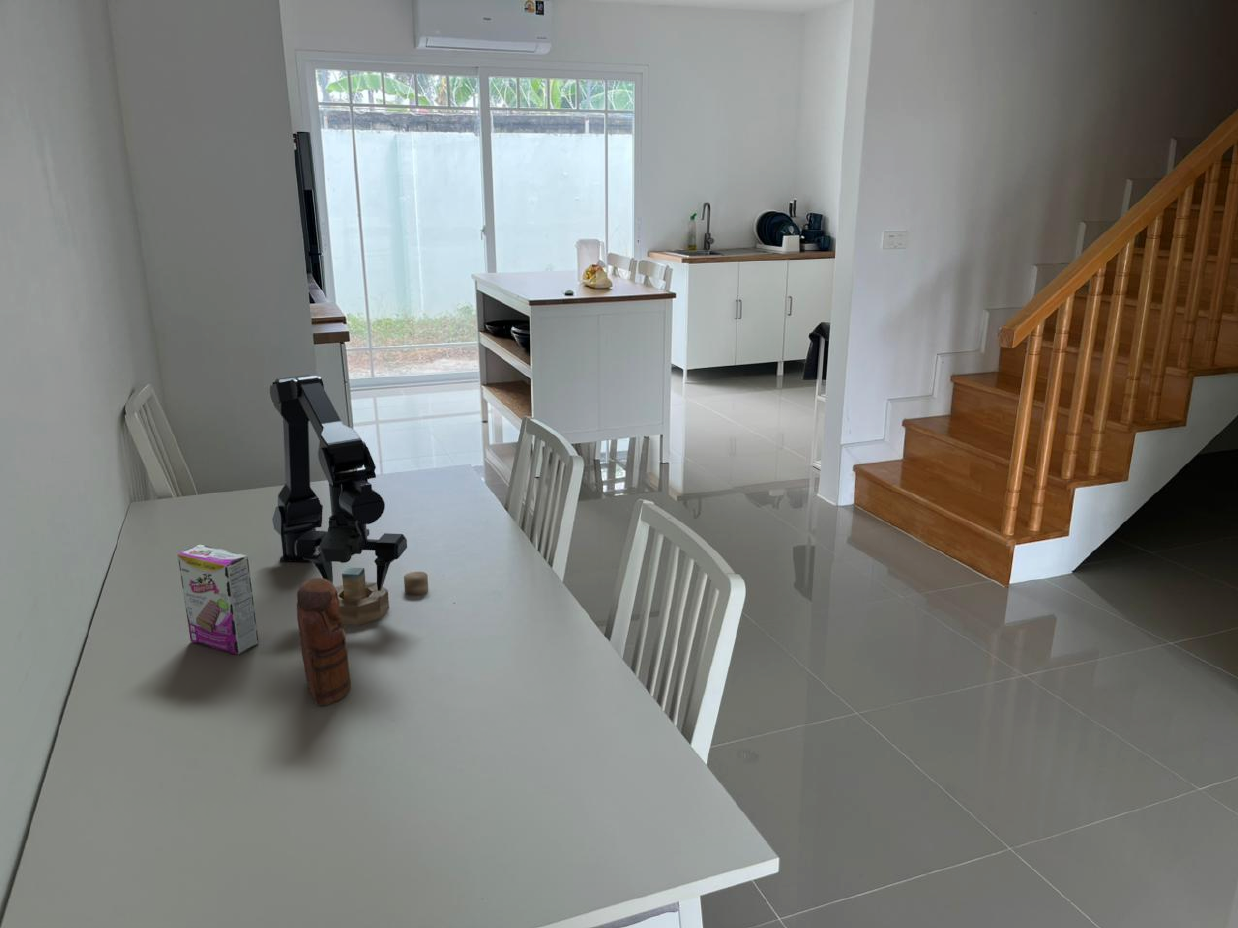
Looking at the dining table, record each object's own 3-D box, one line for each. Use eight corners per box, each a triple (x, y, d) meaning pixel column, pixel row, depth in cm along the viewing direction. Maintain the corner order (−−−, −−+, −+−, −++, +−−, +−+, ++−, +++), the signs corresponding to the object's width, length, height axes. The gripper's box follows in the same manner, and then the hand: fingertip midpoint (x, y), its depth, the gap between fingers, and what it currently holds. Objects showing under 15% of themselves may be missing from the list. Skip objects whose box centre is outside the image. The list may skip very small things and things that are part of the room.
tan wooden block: (345, 614, 170) (341, 573, 168) (352, 607, 173) (348, 567, 171) (361, 615, 170) (358, 574, 168) (367, 608, 173) (364, 567, 170)
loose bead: (401, 595, 178) (400, 580, 177) (408, 585, 183) (407, 571, 182) (424, 596, 178) (423, 581, 177) (431, 586, 182) (430, 572, 181)
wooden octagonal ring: (317, 623, 167) (316, 605, 166) (340, 597, 177) (338, 580, 176) (375, 625, 166) (373, 607, 165) (394, 600, 176) (393, 583, 175)
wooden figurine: (356, 700, 143) (346, 591, 137) (313, 710, 140) (301, 599, 135) (341, 665, 153) (332, 562, 147) (300, 674, 150) (289, 569, 145)
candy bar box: (188, 643, 160) (175, 553, 155) (211, 630, 164) (199, 543, 159) (237, 656, 155) (225, 564, 151) (260, 643, 160) (249, 553, 155)
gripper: (276, 521, 159) (286, 605, 163) (384, 525, 157) (390, 610, 162) (303, 499, 169) (312, 579, 174) (405, 503, 168) (410, 583, 172)
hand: (355, 588), depth 170 cm, fingers open, 9 cm apart
